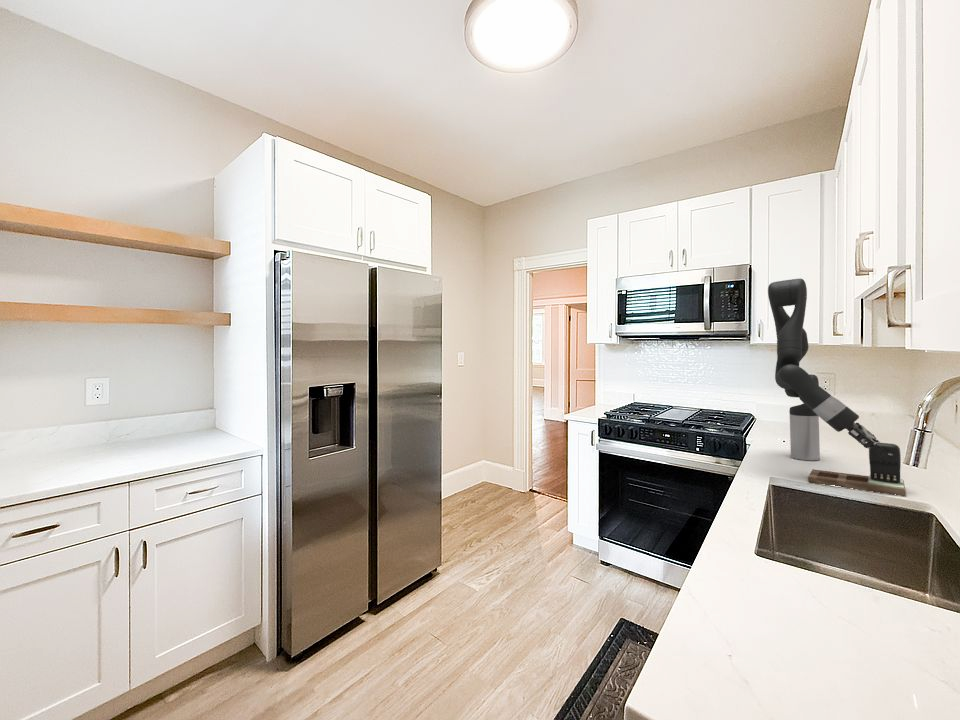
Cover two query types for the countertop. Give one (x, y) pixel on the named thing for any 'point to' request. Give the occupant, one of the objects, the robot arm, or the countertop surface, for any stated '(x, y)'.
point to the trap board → (856, 482)
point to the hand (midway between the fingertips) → (885, 453)
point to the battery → (886, 464)
